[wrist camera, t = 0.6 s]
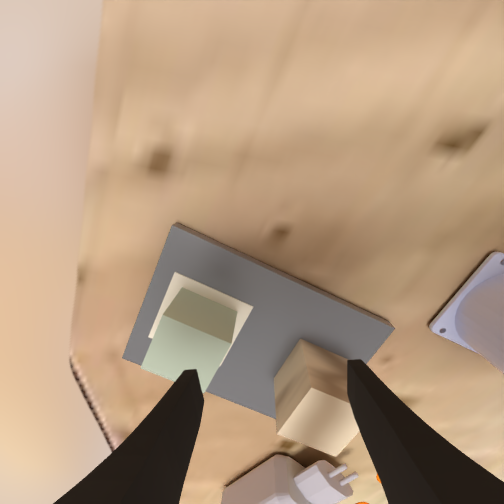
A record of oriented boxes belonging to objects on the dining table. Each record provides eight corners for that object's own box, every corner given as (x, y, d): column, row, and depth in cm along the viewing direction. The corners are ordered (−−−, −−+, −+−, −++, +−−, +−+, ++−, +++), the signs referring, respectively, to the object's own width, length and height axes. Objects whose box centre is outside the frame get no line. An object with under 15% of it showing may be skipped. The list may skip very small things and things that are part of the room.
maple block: (349, 360, 21) (375, 414, 17) (320, 397, 23) (335, 456, 18) (300, 338, 21) (311, 387, 16) (273, 378, 22) (276, 433, 18)
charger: (370, 464, 27) (277, 517, 31) (314, 421, 25) (223, 483, 29) (392, 522, 23) (279, 575, 27) (326, 474, 21) (216, 539, 25)
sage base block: (237, 311, 20) (231, 343, 16) (214, 354, 22) (204, 393, 18) (182, 287, 20) (162, 314, 16) (162, 333, 21) (140, 368, 17)
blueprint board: (389, 321, 21) (395, 329, 20) (308, 422, 25) (310, 433, 24) (176, 222, 19) (171, 225, 18) (127, 350, 23) (121, 358, 22)
